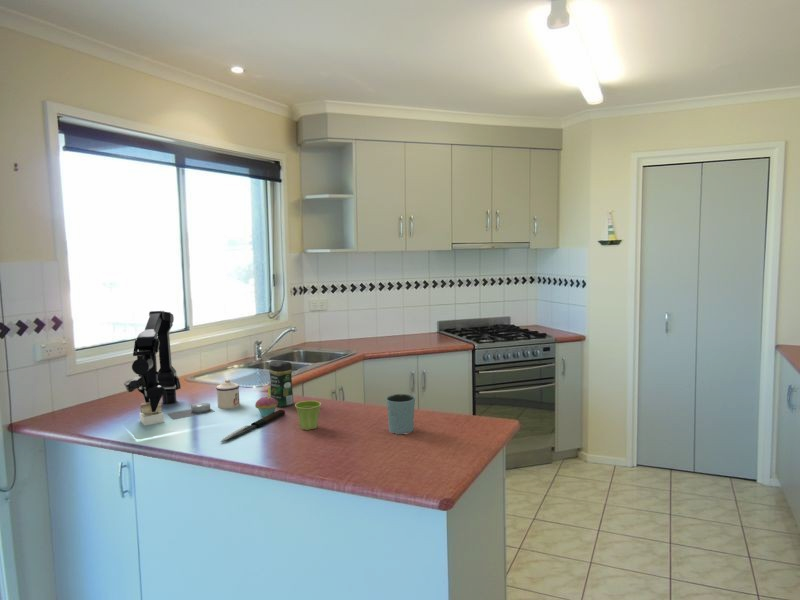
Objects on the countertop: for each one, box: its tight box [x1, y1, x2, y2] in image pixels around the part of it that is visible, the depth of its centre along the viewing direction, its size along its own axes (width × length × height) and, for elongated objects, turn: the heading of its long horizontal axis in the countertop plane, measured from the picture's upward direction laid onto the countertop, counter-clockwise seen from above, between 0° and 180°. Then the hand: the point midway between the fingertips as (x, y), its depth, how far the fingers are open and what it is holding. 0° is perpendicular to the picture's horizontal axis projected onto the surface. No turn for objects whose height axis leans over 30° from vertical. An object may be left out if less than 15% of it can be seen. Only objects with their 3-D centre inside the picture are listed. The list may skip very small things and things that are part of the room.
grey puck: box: [190, 402, 211, 413], centre depth 224 cm, size 7×7×2 cm
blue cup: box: [385, 393, 416, 435], centre depth 195 cm, size 10×10×12 cm
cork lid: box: [140, 401, 163, 413], centre depth 210 cm, size 7×7×3 cm
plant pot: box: [294, 400, 322, 431], centre depth 201 cm, size 9×9×9 cm
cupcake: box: [255, 386, 278, 418], centre depth 218 cm, size 9×8×12 cm
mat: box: [166, 407, 215, 421], centre depth 221 cm, size 10×16×1 cm, turn 127°
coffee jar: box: [268, 359, 294, 408], centre depth 232 cm, size 10×8×19 cm
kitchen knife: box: [219, 409, 286, 443], centre depth 203 cm, size 36×2×5 cm
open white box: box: [138, 410, 165, 427], centre depth 211 cm, size 7×7×4 cm
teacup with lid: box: [216, 378, 241, 410], centre depth 231 cm, size 12×9×12 cm
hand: (151, 409), depth 210 cm, fingers closed on cork lid, 7 cm apart
